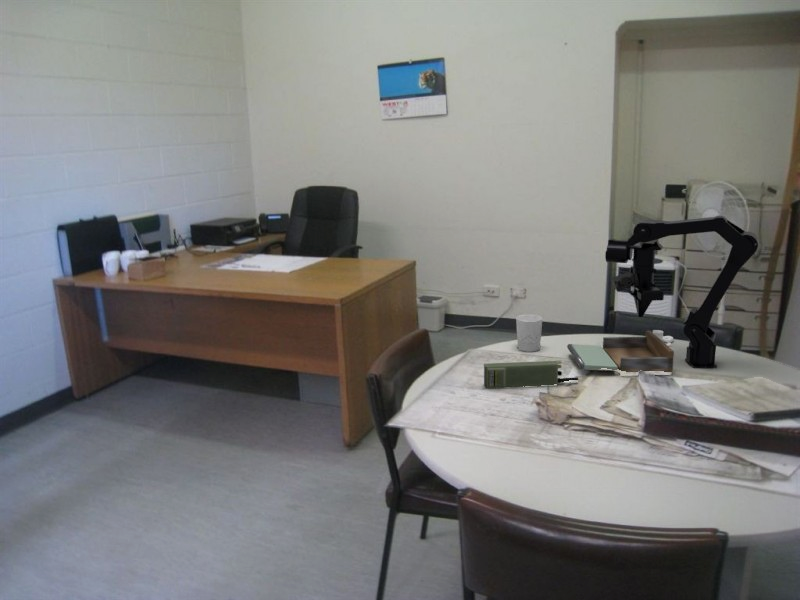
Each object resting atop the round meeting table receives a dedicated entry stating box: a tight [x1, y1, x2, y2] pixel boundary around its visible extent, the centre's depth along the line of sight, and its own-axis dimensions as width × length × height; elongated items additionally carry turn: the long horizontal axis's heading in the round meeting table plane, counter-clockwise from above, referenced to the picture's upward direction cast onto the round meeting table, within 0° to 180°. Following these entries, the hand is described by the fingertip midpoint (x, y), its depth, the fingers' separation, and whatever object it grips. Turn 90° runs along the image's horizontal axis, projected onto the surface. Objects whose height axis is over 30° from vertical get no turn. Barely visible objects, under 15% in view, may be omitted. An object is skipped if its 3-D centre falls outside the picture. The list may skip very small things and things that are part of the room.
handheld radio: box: [483, 360, 579, 389], centre depth 166 cm, size 7×3×25 cm
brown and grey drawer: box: [602, 329, 675, 373], centre depth 178 cm, size 14×19×7 cm
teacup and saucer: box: [652, 329, 674, 347], centre depth 195 cm, size 9×8×4 cm
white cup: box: [515, 314, 543, 353], centre depth 193 cm, size 8×8×10 cm
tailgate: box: [566, 343, 618, 371], centre depth 179 cm, size 2×18×10 cm
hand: (640, 316), depth 182 cm, fingers closed
